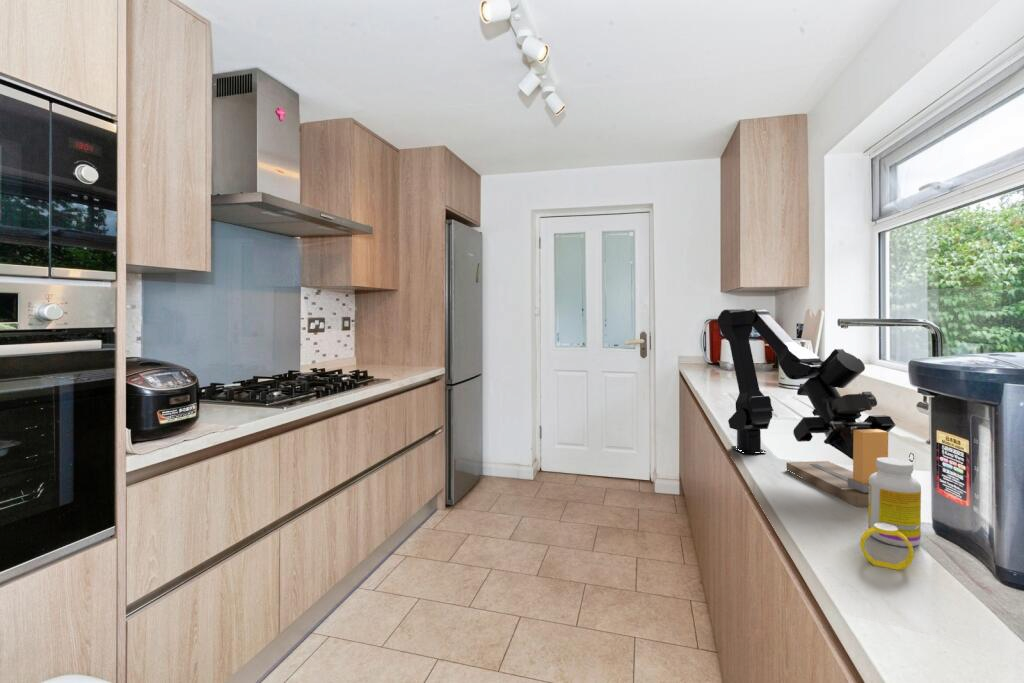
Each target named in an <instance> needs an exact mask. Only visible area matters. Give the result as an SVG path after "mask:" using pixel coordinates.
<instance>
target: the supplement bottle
mask: <svg viewBox="0 0 1024 683" xmlns="http://www.w3.org/2000/svg"><path fill="white" fill-rule="evenodd" d="M876 466H877V468H878V472H876V473H873V474H872V475H871V476H870V477H869V507H868V515H867V516H868V519H867V520H868V521H867V524H868V526H867V527H868V529H869V528H872V527H874V524H875V523H886V524H890V525H893V526H895V527H897V528H898V531H899V532H901V533H902V534H904V536H906V538H907V539H908V541H909V542H910V544H911V545H912V547H913V548H914V547H916V546H918V545H919V544H920V543H921V536H922V535H921V526H922V525H921V521H922V518H921V512H922V511H921V509H922V506H921V505H922V486H921V484H920V482H919V480H916V478H914V477H912V474H913V472H914V463H913V462H912V461H910V460H906V459H902V458H896V457H889V456H888V457H880V458H877V459H876ZM870 536H871V537H873V538H874V539H875V540H878V541H880V542H882V543H884V544H887V545H892V546H896V547H903V548H905V547H906V548H908V545H907V544H906V542H905V541H904V540H903V539H902V538H900V537H899V536H897V535H885V534H881V533H879V532H877V533H873V534H871V535H870Z"/></svg>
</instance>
